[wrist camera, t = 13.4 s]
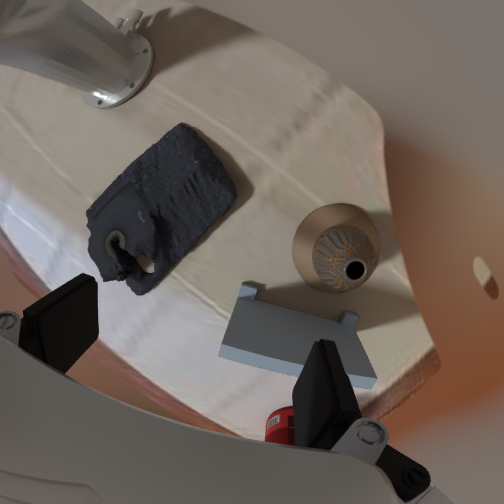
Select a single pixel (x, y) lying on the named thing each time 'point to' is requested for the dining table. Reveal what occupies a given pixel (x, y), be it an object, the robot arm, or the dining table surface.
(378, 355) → the dining table surface
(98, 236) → the dark slate chunk
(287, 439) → the canned food
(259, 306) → the screen
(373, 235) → the coaster
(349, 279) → the vase
